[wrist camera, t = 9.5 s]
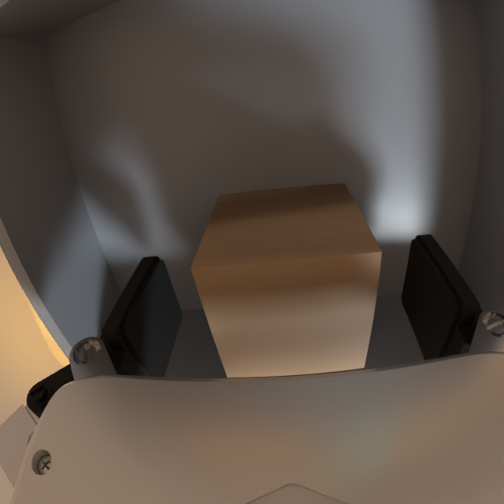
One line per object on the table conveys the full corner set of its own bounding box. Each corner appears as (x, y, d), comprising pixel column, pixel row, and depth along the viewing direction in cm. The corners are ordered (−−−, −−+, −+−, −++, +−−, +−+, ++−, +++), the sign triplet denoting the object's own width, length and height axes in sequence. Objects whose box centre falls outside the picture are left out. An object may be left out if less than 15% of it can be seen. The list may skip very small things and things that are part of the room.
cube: (219, 195, 12) (190, 268, 8) (344, 183, 12) (381, 251, 7) (239, 291, 15) (227, 377, 11) (343, 283, 14) (364, 368, 10)
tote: (40, 29, 9) (-50, 36, 4) (473, -19, 6) (555, -34, 1) (126, 313, 17) (91, 388, 13) (456, 289, 15) (497, 362, 10)
